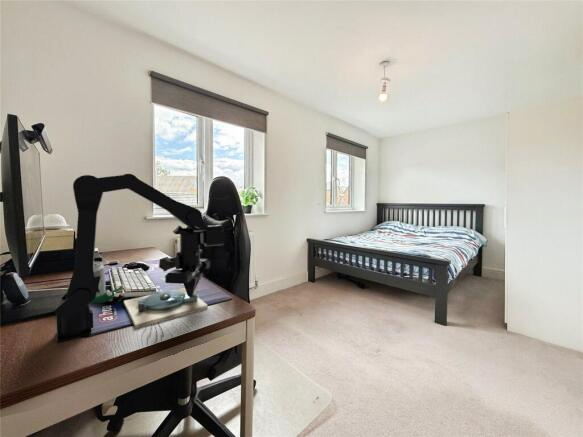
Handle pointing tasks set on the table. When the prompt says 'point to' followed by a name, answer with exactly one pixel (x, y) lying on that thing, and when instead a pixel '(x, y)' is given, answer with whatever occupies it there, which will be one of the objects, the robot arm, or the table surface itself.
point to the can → (100, 267)
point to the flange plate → (167, 300)
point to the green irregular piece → (107, 295)
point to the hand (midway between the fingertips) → (190, 296)
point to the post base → (148, 317)
